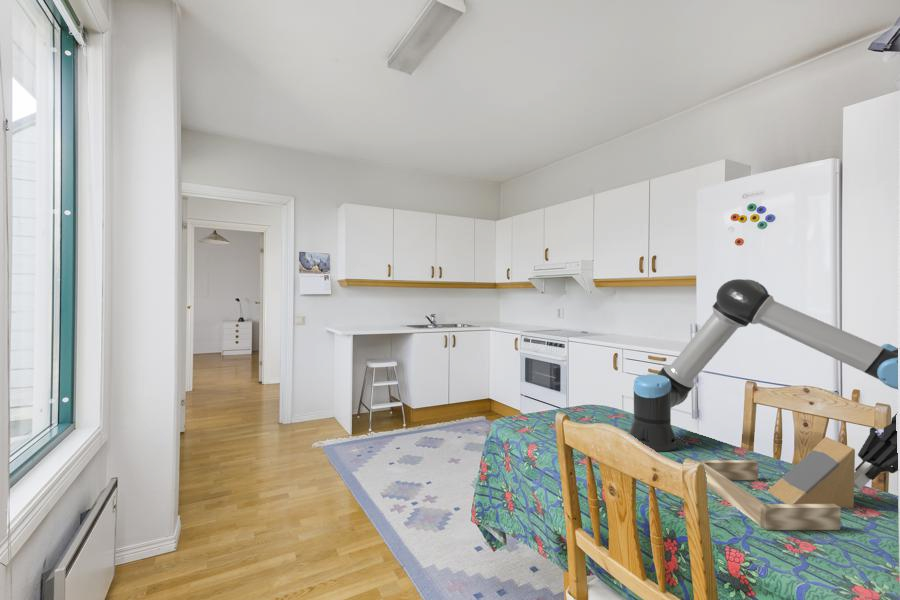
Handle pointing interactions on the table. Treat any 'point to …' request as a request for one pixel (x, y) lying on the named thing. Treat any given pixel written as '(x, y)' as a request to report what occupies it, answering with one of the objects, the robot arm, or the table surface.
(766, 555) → the table surface
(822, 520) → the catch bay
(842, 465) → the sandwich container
